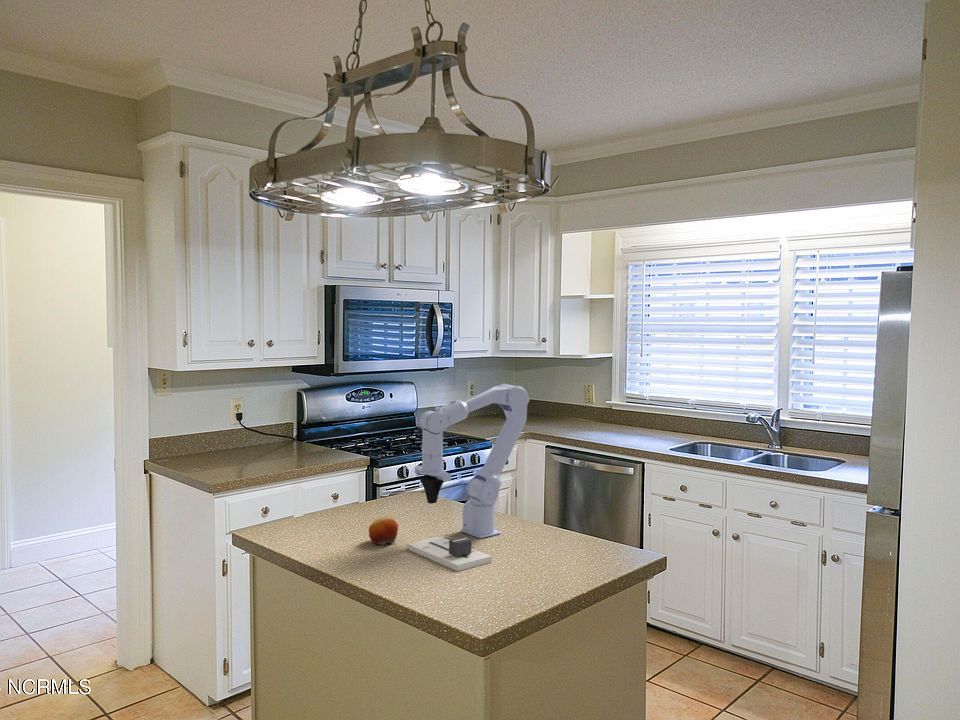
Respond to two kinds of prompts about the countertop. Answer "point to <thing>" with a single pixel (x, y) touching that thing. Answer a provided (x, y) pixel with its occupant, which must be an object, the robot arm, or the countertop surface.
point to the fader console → (447, 554)
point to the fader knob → (460, 546)
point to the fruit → (383, 531)
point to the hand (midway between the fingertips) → (432, 502)
